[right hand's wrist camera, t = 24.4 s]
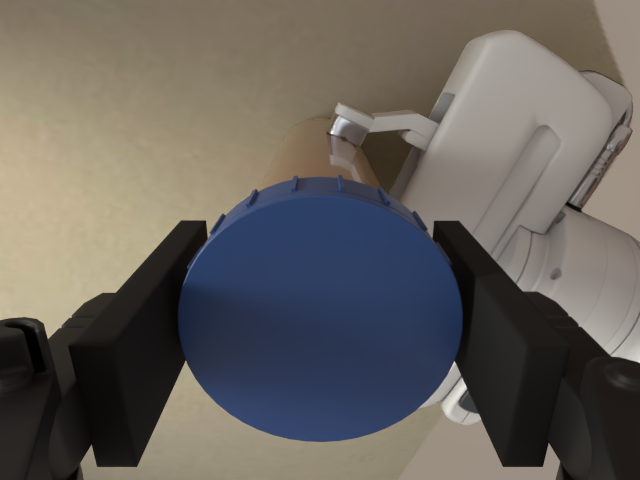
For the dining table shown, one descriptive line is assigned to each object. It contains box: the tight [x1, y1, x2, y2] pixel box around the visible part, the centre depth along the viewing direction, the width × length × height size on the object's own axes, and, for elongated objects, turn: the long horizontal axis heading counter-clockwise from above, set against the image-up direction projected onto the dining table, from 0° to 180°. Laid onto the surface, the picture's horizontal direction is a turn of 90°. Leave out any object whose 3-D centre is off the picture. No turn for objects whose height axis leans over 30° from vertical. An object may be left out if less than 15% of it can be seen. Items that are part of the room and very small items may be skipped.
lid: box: [177, 175, 463, 442], centre depth 11 cm, size 7×7×2 cm
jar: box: [258, 118, 381, 192], centre depth 20 cm, size 5×5×19 cm
